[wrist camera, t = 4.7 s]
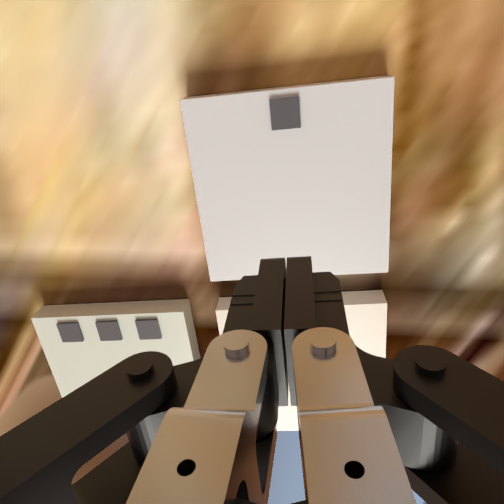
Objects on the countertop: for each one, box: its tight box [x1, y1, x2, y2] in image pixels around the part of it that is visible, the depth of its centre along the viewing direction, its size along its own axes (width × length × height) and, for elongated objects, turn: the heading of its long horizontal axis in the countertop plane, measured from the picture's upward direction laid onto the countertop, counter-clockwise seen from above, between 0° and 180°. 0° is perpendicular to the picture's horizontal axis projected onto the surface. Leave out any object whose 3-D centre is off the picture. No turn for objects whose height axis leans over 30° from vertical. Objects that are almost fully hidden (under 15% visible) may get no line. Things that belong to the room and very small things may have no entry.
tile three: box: [31, 299, 201, 398], centre depth 29 cm, size 10×10×2 cm
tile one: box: [180, 75, 394, 281], centre depth 22 cm, size 10×10×2 cm
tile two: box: [216, 290, 387, 431], centre depth 27 cm, size 10×10×2 cm
